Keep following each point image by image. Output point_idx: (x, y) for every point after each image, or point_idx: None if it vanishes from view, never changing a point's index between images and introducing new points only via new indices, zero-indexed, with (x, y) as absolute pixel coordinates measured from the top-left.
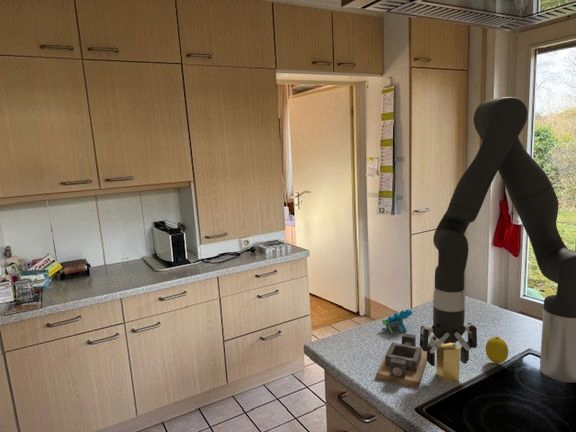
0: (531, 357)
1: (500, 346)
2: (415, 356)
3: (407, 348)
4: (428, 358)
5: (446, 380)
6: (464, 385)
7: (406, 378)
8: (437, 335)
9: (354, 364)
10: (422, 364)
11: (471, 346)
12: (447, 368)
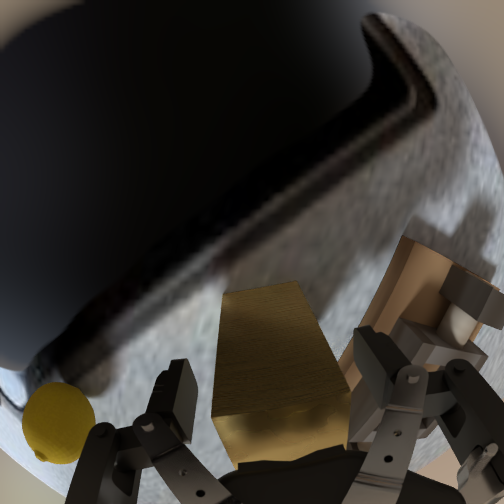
0: (13, 395)
1: (33, 422)
2: None
3: None
4: (397, 351)
5: (282, 286)
6: (206, 263)
7: (445, 266)
8: (428, 482)
9: (497, 341)
10: (353, 373)
11: (123, 435)
12: (289, 317)
